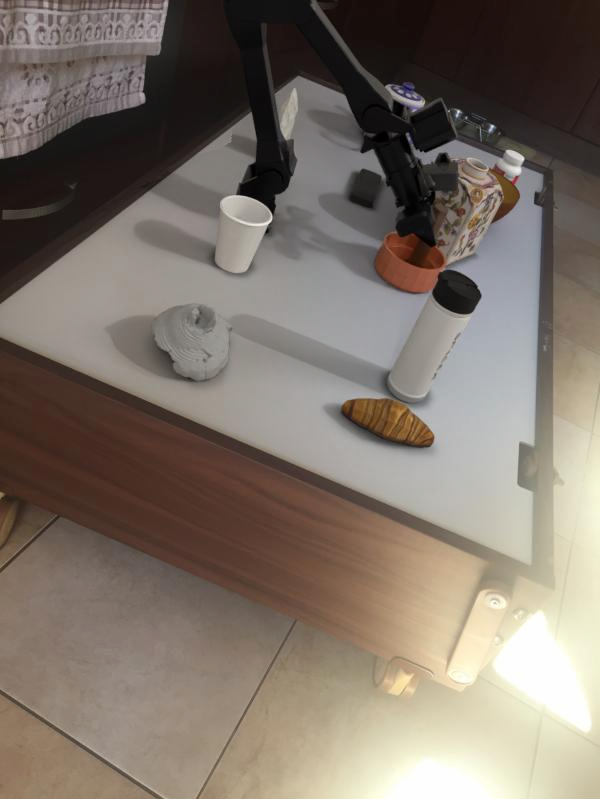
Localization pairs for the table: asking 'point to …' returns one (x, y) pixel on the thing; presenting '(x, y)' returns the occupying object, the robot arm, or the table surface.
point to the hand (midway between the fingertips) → (433, 242)
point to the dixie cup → (240, 232)
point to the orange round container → (403, 272)
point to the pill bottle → (510, 165)
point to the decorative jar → (467, 209)
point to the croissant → (389, 420)
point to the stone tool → (288, 114)
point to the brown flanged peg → (421, 247)
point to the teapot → (407, 98)
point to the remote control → (366, 187)
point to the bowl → (504, 195)
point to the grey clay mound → (193, 339)
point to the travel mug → (433, 336)
